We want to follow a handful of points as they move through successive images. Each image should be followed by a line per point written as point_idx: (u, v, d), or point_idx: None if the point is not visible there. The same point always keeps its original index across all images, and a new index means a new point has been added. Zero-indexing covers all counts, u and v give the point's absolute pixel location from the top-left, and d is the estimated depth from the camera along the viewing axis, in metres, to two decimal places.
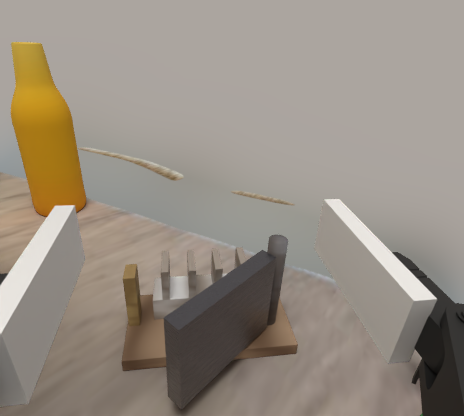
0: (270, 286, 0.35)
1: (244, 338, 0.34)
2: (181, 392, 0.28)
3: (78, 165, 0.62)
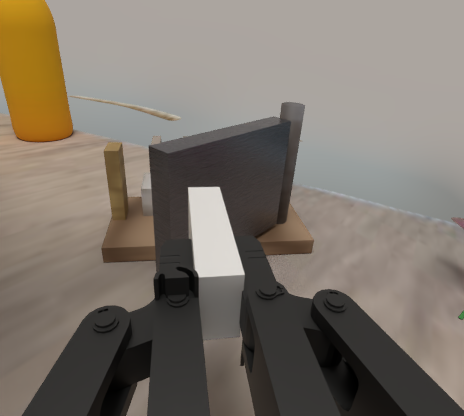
0: (282, 163, 0.29)
1: (250, 223, 0.28)
2: None
3: (63, 84, 0.55)
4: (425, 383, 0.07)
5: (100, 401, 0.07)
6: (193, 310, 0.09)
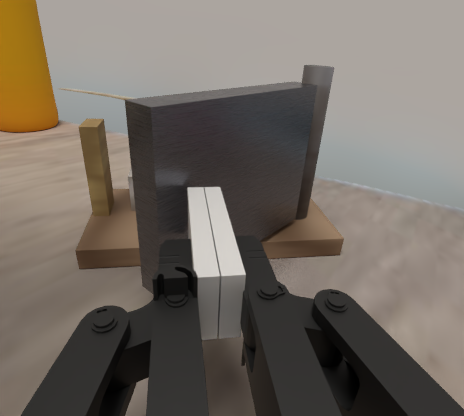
0: (305, 141, 0.23)
1: (265, 218, 0.22)
2: None
3: (46, 68, 0.49)
4: (426, 383, 0.07)
5: (99, 401, 0.07)
6: (192, 310, 0.09)
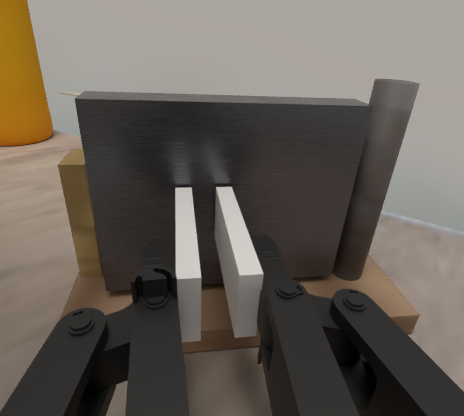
0: (348, 178, 0.17)
1: None
2: (102, 255, 0.17)
3: (38, 72, 0.43)
4: (445, 384, 0.07)
5: (76, 404, 0.07)
6: (172, 311, 0.09)
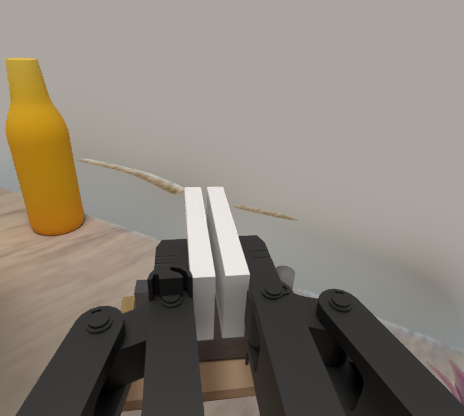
0: None
1: (224, 347, 0.35)
2: None
3: (76, 182, 0.60)
4: (431, 383, 0.07)
5: (93, 402, 0.07)
6: (187, 310, 0.09)
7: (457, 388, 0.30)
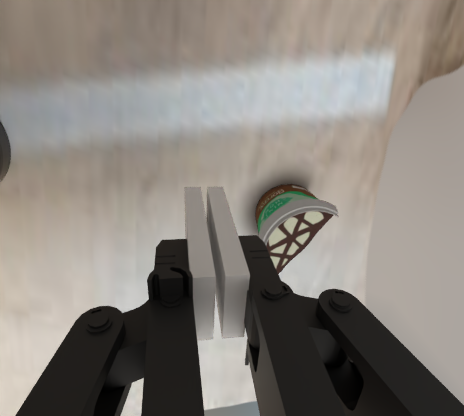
0: None
1: None
2: None
3: None
4: (431, 383, 0.07)
5: (93, 402, 0.07)
6: (187, 310, 0.09)
7: None
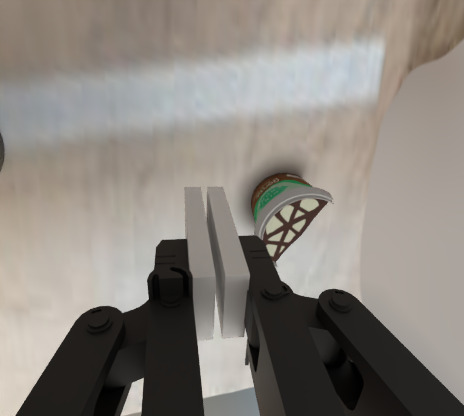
0: None
1: None
2: None
3: None
4: (430, 383, 0.07)
5: (93, 402, 0.07)
6: (187, 310, 0.09)
7: None
